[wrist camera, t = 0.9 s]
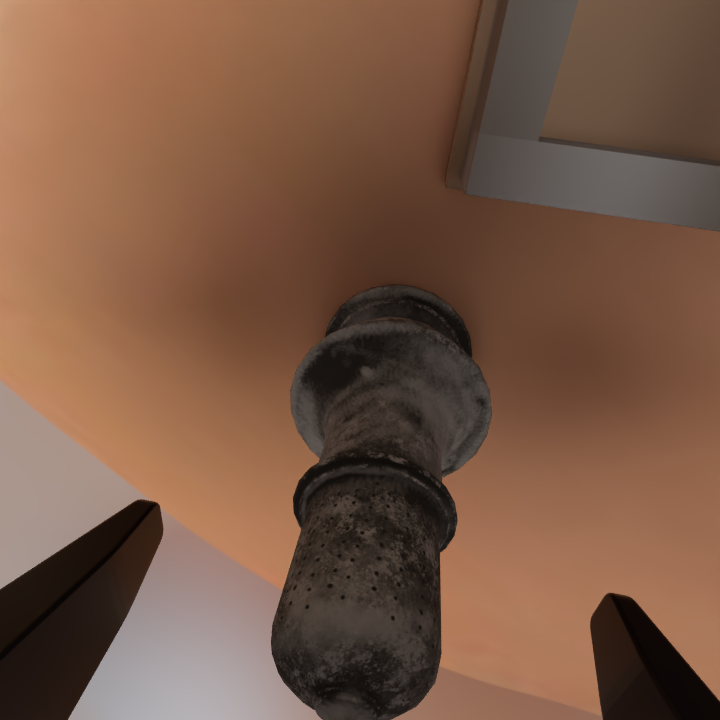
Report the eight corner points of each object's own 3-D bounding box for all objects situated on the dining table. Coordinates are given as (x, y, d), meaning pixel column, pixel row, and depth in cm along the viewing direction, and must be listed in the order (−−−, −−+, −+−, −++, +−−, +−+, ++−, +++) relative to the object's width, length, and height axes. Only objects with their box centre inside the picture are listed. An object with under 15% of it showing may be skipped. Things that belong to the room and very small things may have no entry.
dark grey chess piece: (453, 435, 18) (482, 898, 7) (307, 401, 18) (138, 809, 8) (504, 297, 15) (670, 756, 4) (328, 258, 15) (96, 612, 5)
